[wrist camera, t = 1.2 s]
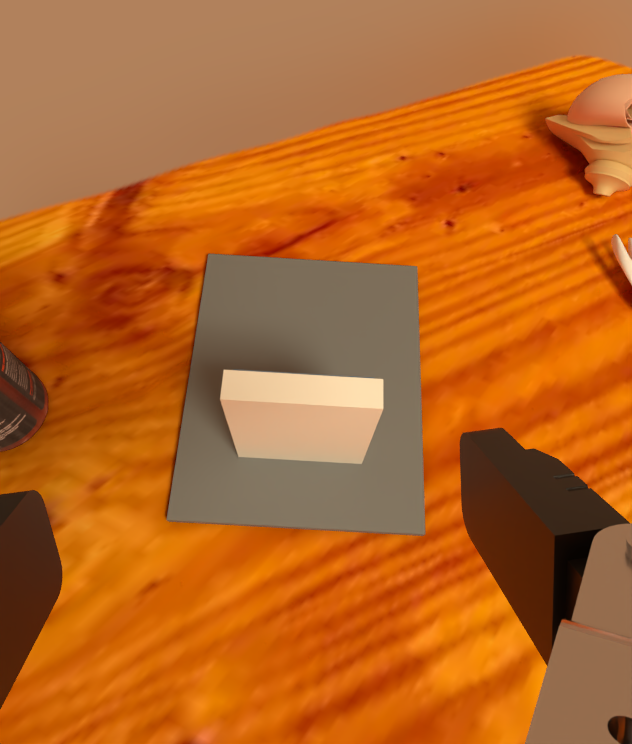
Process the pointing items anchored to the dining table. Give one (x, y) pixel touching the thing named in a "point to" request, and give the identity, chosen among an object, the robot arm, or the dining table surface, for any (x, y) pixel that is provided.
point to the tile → (301, 414)
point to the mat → (312, 356)
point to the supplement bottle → (19, 401)
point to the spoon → (623, 255)
